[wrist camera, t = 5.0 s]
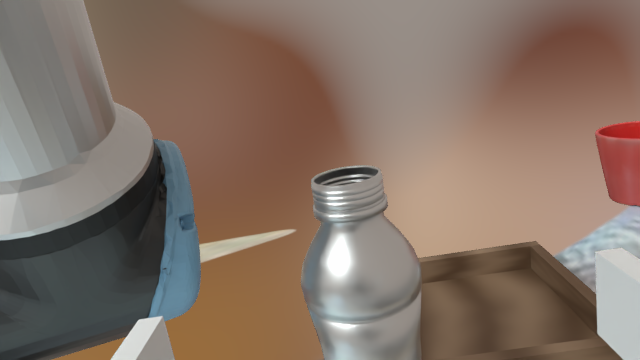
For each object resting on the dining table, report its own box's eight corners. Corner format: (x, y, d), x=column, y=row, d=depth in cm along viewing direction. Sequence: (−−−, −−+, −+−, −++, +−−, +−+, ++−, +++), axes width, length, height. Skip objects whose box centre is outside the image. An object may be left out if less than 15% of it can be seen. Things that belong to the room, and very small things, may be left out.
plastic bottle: (446, 448, 31) (412, 152, 26) (451, 552, 25) (408, 189, 20) (349, 444, 33) (300, 164, 28) (331, 542, 27) (263, 202, 22)
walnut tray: (395, 416, 35) (389, 375, 34) (370, 295, 52) (366, 265, 51) (647, 382, 34) (648, 340, 33) (537, 271, 51) (535, 241, 51)
